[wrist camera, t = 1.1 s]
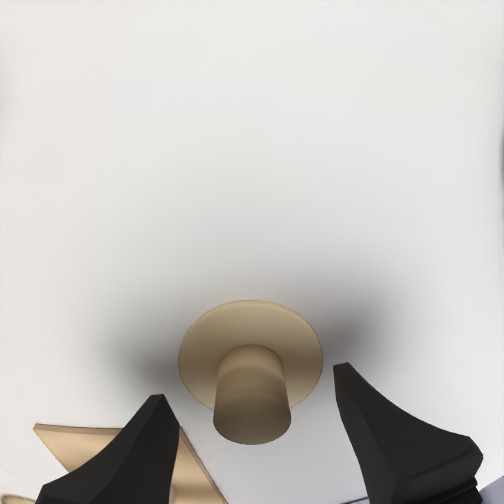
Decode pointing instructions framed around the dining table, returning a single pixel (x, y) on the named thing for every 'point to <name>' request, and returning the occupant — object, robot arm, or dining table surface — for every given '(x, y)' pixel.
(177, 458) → the square wooden coaster
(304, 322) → the lid
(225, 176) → the dining table surface
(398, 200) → the dining table surface
